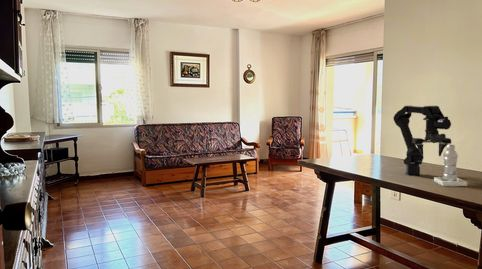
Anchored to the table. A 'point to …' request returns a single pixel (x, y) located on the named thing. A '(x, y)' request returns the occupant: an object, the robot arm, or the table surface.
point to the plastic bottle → (450, 164)
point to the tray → (446, 183)
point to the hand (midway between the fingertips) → (430, 156)
